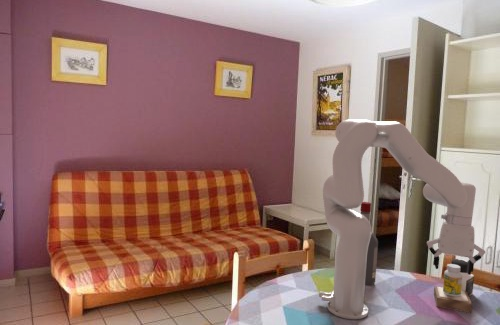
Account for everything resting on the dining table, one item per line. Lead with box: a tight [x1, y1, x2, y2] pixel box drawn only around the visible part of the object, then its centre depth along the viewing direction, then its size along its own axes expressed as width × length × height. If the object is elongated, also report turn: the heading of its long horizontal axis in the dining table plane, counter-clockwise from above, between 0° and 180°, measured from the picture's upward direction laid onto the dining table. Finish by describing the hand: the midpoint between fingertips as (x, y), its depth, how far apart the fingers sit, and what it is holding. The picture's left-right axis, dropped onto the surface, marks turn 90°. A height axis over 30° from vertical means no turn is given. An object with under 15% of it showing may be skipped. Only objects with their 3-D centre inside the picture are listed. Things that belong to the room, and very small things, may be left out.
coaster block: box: [433, 285, 472, 314], centre depth 131 cm, size 10×10×3 cm
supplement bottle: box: [442, 263, 462, 297], centre depth 130 cm, size 5×5×10 cm
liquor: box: [360, 201, 379, 287], centre depth 145 cm, size 9×9×30 cm
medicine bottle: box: [450, 258, 475, 297], centre depth 138 cm, size 7×7×12 cm
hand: (452, 270), depth 129 cm, fingers open, 9 cm apart
